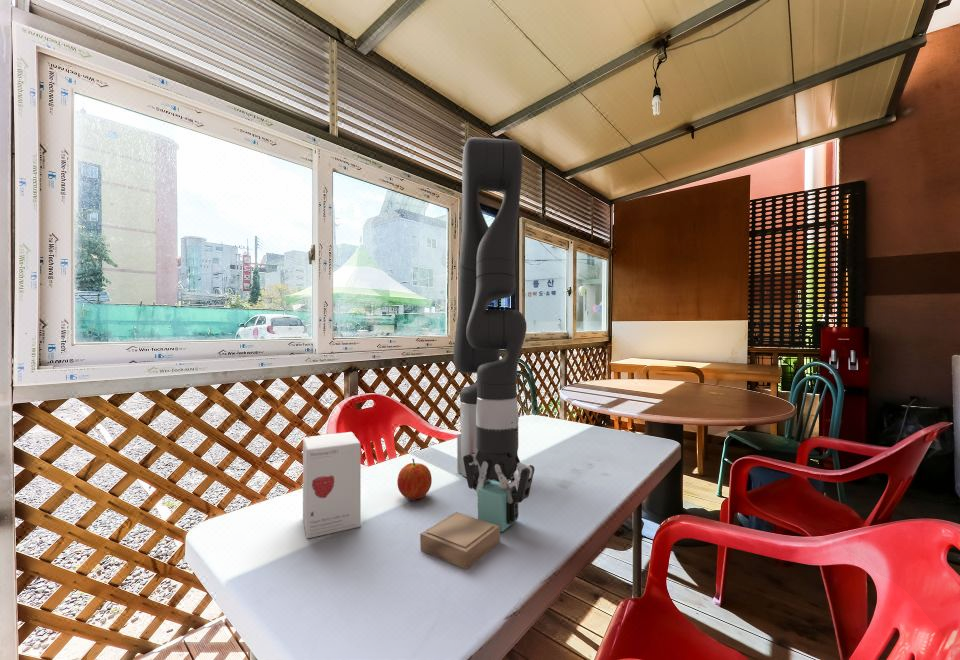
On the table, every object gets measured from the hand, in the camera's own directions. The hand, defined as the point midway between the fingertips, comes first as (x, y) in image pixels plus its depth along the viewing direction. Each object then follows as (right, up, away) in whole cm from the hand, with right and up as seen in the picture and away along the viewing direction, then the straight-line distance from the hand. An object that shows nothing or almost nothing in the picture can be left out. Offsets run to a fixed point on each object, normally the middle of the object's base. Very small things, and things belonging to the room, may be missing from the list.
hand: (497, 517), depth 70 cm
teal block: (0, -1, 0) cm, 1 cm away
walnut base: (-6, -1, -7) cm, 10 cm away
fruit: (-17, -1, +11) cm, 20 cm away
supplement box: (-30, -1, +1) cm, 30 cm away
